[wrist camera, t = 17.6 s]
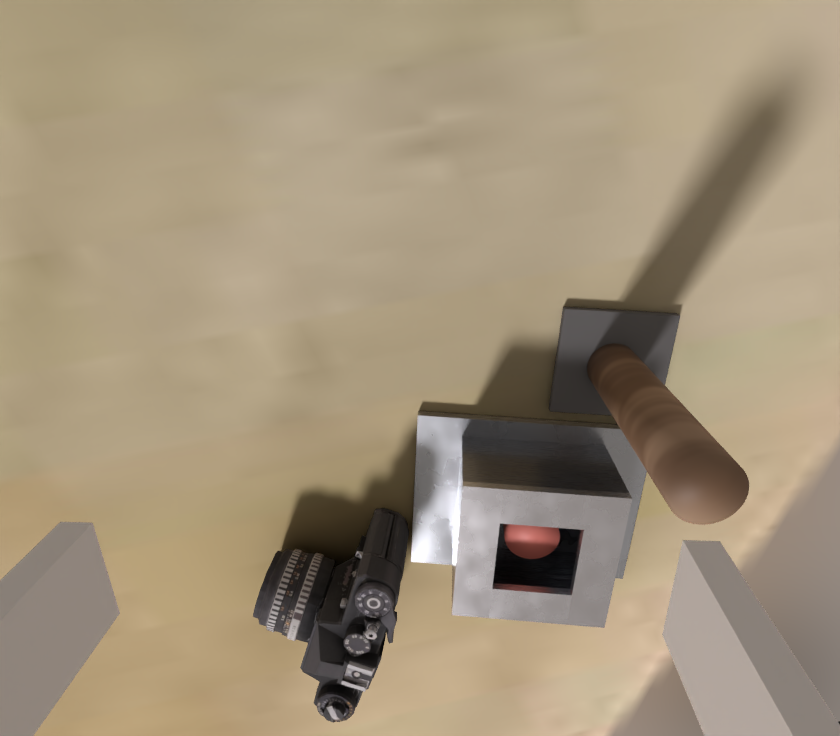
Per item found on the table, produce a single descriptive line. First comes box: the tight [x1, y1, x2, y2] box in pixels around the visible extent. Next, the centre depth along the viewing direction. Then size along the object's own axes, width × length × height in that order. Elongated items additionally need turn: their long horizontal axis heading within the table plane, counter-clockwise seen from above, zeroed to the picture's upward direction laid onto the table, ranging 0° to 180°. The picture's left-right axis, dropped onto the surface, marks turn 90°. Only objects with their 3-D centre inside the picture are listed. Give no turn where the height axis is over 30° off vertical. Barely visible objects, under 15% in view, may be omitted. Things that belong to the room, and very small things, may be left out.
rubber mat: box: [549, 307, 680, 415], centre depth 40 cm, size 8×8×1 cm
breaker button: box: [503, 524, 560, 559], centre depth 42 cm, size 4×4×4 cm
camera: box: [253, 508, 409, 722], centre depth 44 cm, size 14×11×10 cm
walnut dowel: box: [587, 343, 749, 524], centre depth 32 cm, size 4×4×16 cm
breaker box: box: [411, 411, 647, 628], centre depth 41 cm, size 14×18×8 cm
